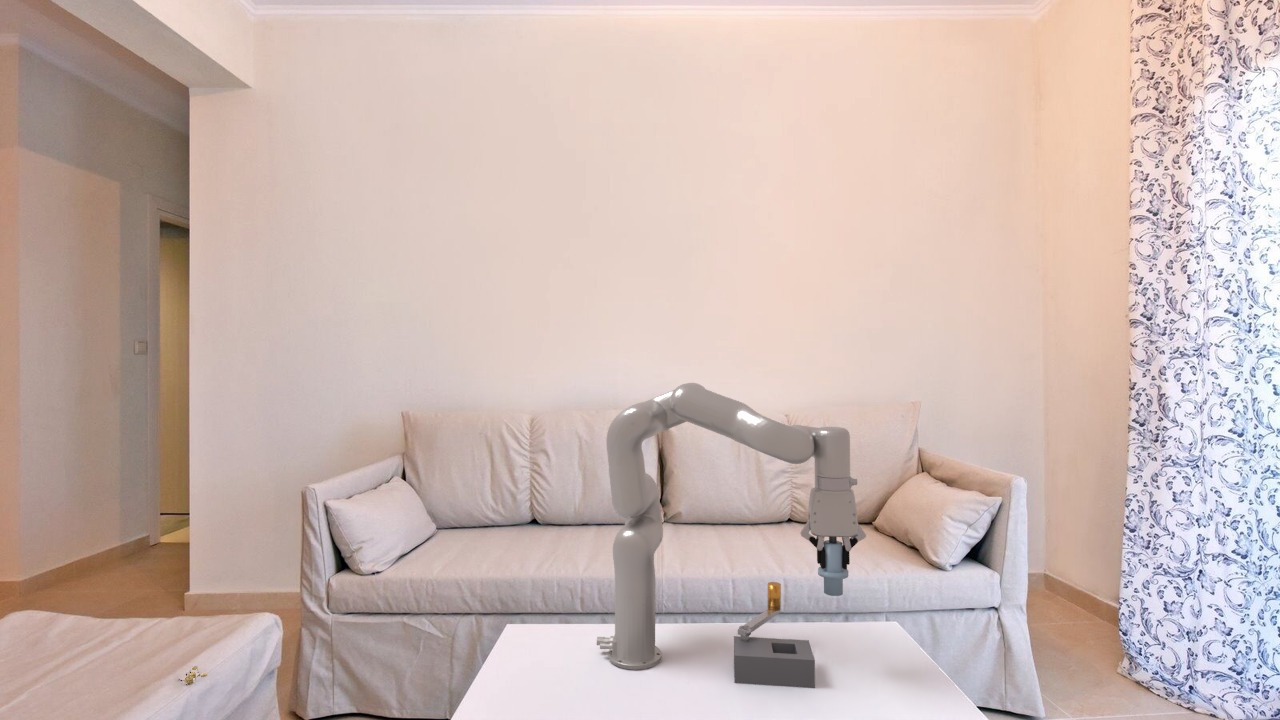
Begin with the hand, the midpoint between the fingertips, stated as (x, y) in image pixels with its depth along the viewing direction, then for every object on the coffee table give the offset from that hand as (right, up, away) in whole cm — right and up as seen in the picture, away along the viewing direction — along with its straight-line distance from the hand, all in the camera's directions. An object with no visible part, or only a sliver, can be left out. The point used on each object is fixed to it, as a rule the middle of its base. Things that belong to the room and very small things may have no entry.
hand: (833, 566), depth 145 cm
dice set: (-141, -25, 0) cm, 143 cm away
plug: (0, -6, 0) cm, 6 cm away
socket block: (-13, -25, +3) cm, 28 cm away
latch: (-14, -17, +13) cm, 26 cm away
